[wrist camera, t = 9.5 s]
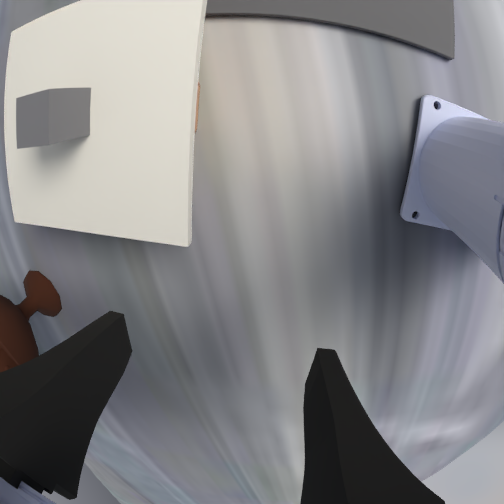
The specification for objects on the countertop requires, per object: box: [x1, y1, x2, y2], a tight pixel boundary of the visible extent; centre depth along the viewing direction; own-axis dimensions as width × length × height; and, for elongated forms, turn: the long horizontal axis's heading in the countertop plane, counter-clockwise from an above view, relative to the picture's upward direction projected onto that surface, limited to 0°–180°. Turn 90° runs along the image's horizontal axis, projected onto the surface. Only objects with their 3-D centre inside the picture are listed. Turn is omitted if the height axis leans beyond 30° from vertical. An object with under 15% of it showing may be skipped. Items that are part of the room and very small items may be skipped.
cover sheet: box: [4, 0, 207, 247], centre depth 10 cm, size 13×13×4 cm
